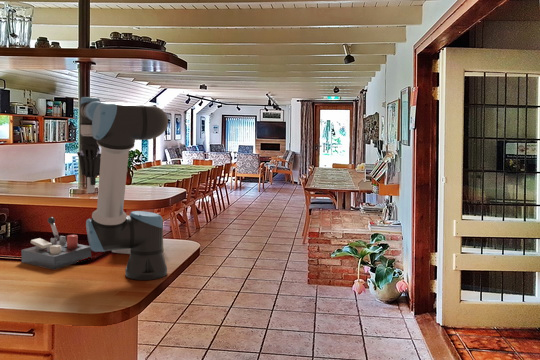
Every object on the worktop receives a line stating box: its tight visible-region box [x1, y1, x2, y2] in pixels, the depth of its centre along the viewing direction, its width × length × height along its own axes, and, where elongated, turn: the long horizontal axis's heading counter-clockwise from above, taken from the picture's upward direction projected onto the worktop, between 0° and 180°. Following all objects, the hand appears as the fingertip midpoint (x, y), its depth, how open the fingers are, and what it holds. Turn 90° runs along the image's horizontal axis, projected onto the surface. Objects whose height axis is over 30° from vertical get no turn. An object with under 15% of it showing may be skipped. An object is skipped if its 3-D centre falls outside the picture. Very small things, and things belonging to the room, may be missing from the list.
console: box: [20, 235, 92, 271], centre depth 187 cm, size 18×18×8 cm
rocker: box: [30, 237, 52, 248], centre depth 185 cm, size 7×4×1 cm, turn 65°
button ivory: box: [50, 245, 61, 254], centre depth 182 cm, size 4×4×5 cm
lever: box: [47, 216, 60, 240], centre depth 192 cm, size 3×3×10 cm
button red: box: [66, 234, 79, 249], centre depth 188 cm, size 4×4×5 cm
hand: (91, 192), depth 194 cm, fingers closed
